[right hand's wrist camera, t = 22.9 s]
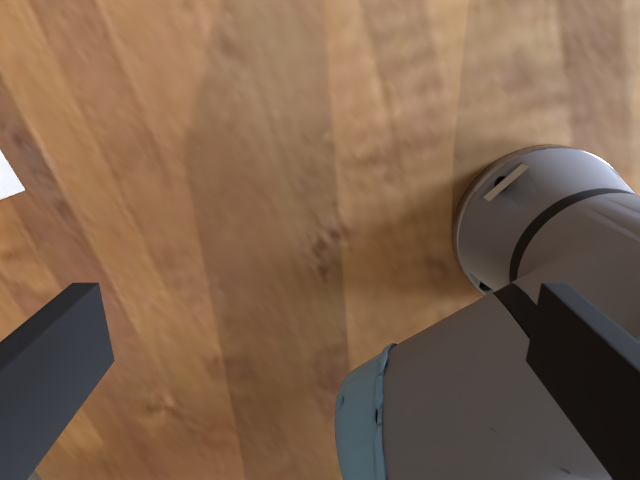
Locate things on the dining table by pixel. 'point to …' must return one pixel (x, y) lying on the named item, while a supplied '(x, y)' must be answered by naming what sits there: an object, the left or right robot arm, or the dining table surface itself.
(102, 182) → the dining table surface
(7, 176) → the cream block
